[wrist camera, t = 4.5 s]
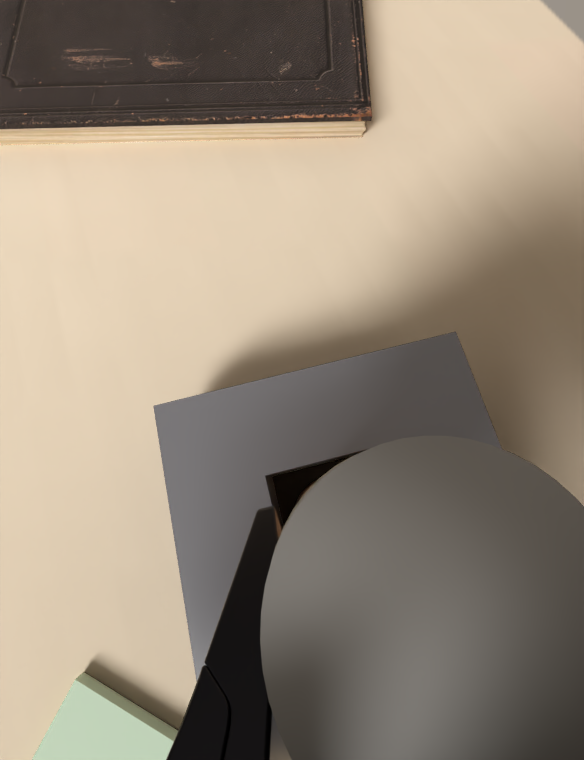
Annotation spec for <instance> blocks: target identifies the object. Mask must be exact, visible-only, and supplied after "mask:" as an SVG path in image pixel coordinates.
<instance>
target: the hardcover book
mask: <svg viewBox="0 0 584 760" xmlns="http://www.w3.org/2000/svg"><path fill="white" fill-rule="evenodd" d="M371 118H372V112H371V101H370V89H369V77H368V65H367V53H366V42H365V30H364V18H363V6H362V0H0V145H29V144H75V143H120V142H165V141H210V140H255V139H301V138H346V137H363V132H364V131H365V130H366V125H365V121H371Z"/></svg>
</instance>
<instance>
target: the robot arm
mask: <svg viewBox="0 0 584 760" xmlns="http://www.w3.org/2000/svg"><path fill="white" fill-rule="evenodd" d="M281 531H282V530H281V526H280V523H279V519H278V516H277V513H276V509H275V507H274V506H269V507H265V508H261V509H258V510H257V512H256V515H255V518H254V520H253V523H252V526H251V529H250V532H249V535H248V538H247V540H246V543H245V546H244V549H243V552H242V555H241V558H240V560H239V563H238V566H237V569H236V572H235V575H234V578H233V581H232V583H231V586H230V589H229V592H228V595H227V598H226V601H225V603H224V606H223V609H222V612H221V615H220V618H219V621H218V624H217V626H216V629H215V632H214V635H213V638H212V641H211V644H210V646H209V649H208V652H207V655H206V658H205V661H204V663H205V665H204V666H203V667H202V669H201V672H200V675H199V678H198V680H197V683H196V686H195V689H194V692H193V694H192V697H191V700H190V702H189V705H188V708H187V710H186V713H185V716H184V718H183V721H182V723H181V726H180V728H179V730H178V733H177V735H176V737H175V740H174V742H173V745H172V747H171V749H170V752H169V754H168V756H167V759H166V760H292V759H291V757H290V755H289V753H288V751H287V748H286V746H285V744H284V742H283V740H282V737H281V735H280V733H279V731H278V728H277V725H276V722H275V719H274V716H273V713H272V709H271V706H270V703H269V700H268V695H267V690H266V685H265V680H264V675H263V669H262V657H261V646H260V628H261V609H262V602H263V595H264V588H265V583H266V579H267V576H268V572H269V568H270V564H271V561H272V557H273V554H274V550H275V546H276V544H277V541H278V539H279V536H280V534H281Z"/></svg>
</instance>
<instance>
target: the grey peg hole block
mask: <svg viewBox="0 0 584 760" xmlns="http://www.w3.org/2000/svg"><path fill="white" fill-rule="evenodd" d="M154 412H155V419H156V425H157V431H158V438H159V444H160V451H161V457H162V463H163V470H164V476H165V482H166V489H167V495H168V502H169V508H170V514H171V521H172V527H173V533H174V540H175V546H176V552H177V559H178V565H179V572H180V578H181V584H182V591H183V597H184V603H185V610H186V616H187V623H188V629H189V635H190V642H191V648H192V654H193V661H194V667H195V673H196V680H198V678H199V675H200V672H201V669H202V667H203V666H204V665H205V663H204V661H205V658H206V655H207V652H208V649H209V646H210V644H211V641H212V638H213V635H214V632H215V629H216V626H217V624H218V621H219V618H220V615H221V612H222V609H223V606H224V603H225V601H226V598H227V595H228V592H229V589H230V586H231V583H232V581H233V578H234V575H235V572H236V569H237V566H238V563H239V560H240V558H241V555H242V552H243V549H244V546H245V543H246V540H247V538H248V535H249V532H250V529H251V526H252V523H253V520H254V518H255V515H256V512H257V510H258V509H261V508H265V507H269V506H274V507H275V509H276V513H277V516H278V519H279V523H280V526H281V530H282V529H283V527H284V525H283V521H282V517H281V512H280V508H279V504H278V499H277V495H276V491H275V486H274V482H273V478H272V476H276V475H280V474H284V473H288V472H292V471H295V470H299V469H303V468H307V467H311V466H315V465H319V464H322V463H326V462H330V461H334V460H338V459H342V458H346V457H349V456H353V455H356V454H358V453H361V452H363V451H366V450H368V449H370V448H373V447H375V446H378V445H380V444H383V443H387V442H390V441H394V440H398V439H402V438H409V437H417V436H452V437H459V438H467V439H472V440H475V441H479V442H483V443H486V444H490V445H493V446H496V447H498V448H501V445H500V443H499V440H498V438H497V435H496V433H495V430H494V428H493V425H492V423H491V420H490V418H489V415H488V412H487V410H486V407H485V405H484V402H483V400H482V397H481V395H480V392H479V390H478V387H477V384H476V382H475V379H474V377H473V374H472V372H471V369H470V367H469V364H468V362H467V359H466V356H465V354H464V351H463V349H462V346H461V344H460V341H459V339H458V336H457V334H456V332H452V333H448V334H444V335H440V336H436V337H432V338H428V339H424V340H420V341H416V342H412V343H408V344H404V345H399V346H395V347H391V348H387V349H383V350H379V351H375V352H371V353H367V354H363V355H359V356H355V357H351V358H346V359H342V360H338V361H334V362H330V363H326V364H322V365H318V366H314V367H310V368H306V369H302V370H298V371H294V372H289V373H285V374H281V375H277V376H273V377H269V378H265V379H261V380H257V381H253V382H249V383H245V384H241V385H237V386H232V387H228V388H224V389H220V390H216V391H212V392H208V393H204V394H200V395H196V396H192V397H188V398H184V399H179V400H175V401H171V402H167V403H163V404H159V405H155V406H154ZM501 449H502V448H501Z"/></svg>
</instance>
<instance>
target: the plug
mask: <svg viewBox="0 0 584 760" xmlns="http://www.w3.org/2000/svg"><path fill="white" fill-rule="evenodd" d="M260 646H261V657H262V669H263V675H264V680H265V685H266V690H267V695H268V700H269V703H270V706H271V709H272V713H273V716H274V719H275V722H276V725H277V728H278V731H279V733H280V735H281V737H282V740H283V742H284V744H285V746H286V748H287V751H288V753H289V755H290V757H291V759H292V760H584V506H583V505H582V504H581V503H580V502H579V501H578V500H577V499H576V498H575V497H574V496H573V495H572V494H571V493H570V492H569V491H568V490H566V489H565V488H564V487H563V486H562V485H561V484H560V483H559V482H557V481H556V480H555V479H554V478H552V477H551V476H549V475H548V474H546V473H545V472H544V471H542V470H541V469H539V468H538V467H537V466H535V465H533V464H531V463H530V462H528V461H526V460H524V459H522V458H520V457H519V456H517V455H515V454H513V453H510V452H508V451H506V450H503V449H501V448H498V447H496V446H493V445H490V444H486V443H483V442H479V441H475V440H472V439H467V438H459V437H452V436H417V437H409V438H402V439H398V440H394V441H390V442H387V443H383V444H380V445H378V446H375V447H373V448H370V449H368V450H366V451H363V452H361V453H358V454H356V455H354V456H352V457H350V458H348V459H346V460H344V461H343V462H341V463H339V464H338V465H336V466H334V467H333V468H332V469H330V470H329V471H328V472H327V473H325V474H324V475H323V476H321V477H320V478H319V479H317V480H315V481H313V482H312V483H310V484H309V485H308V486H307V487H306V488H305V489H304V490H303V491H302V492H301V494H300V495H299V497H298V498H297V500H296V503H295V505H294V508H293V510H292V512H291V514H290V516H289V518H288V519H287V521H286V523H285V525H284V527H283V529H282V531H281V534H280V536H279V539H278V541H277V544H276V546H275V550H274V554H273V557H272V561H271V564H270V568H269V572H268V576H267V579H266V583H265V588H264V595H263V602H262V609H261V628H260Z"/></svg>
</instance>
